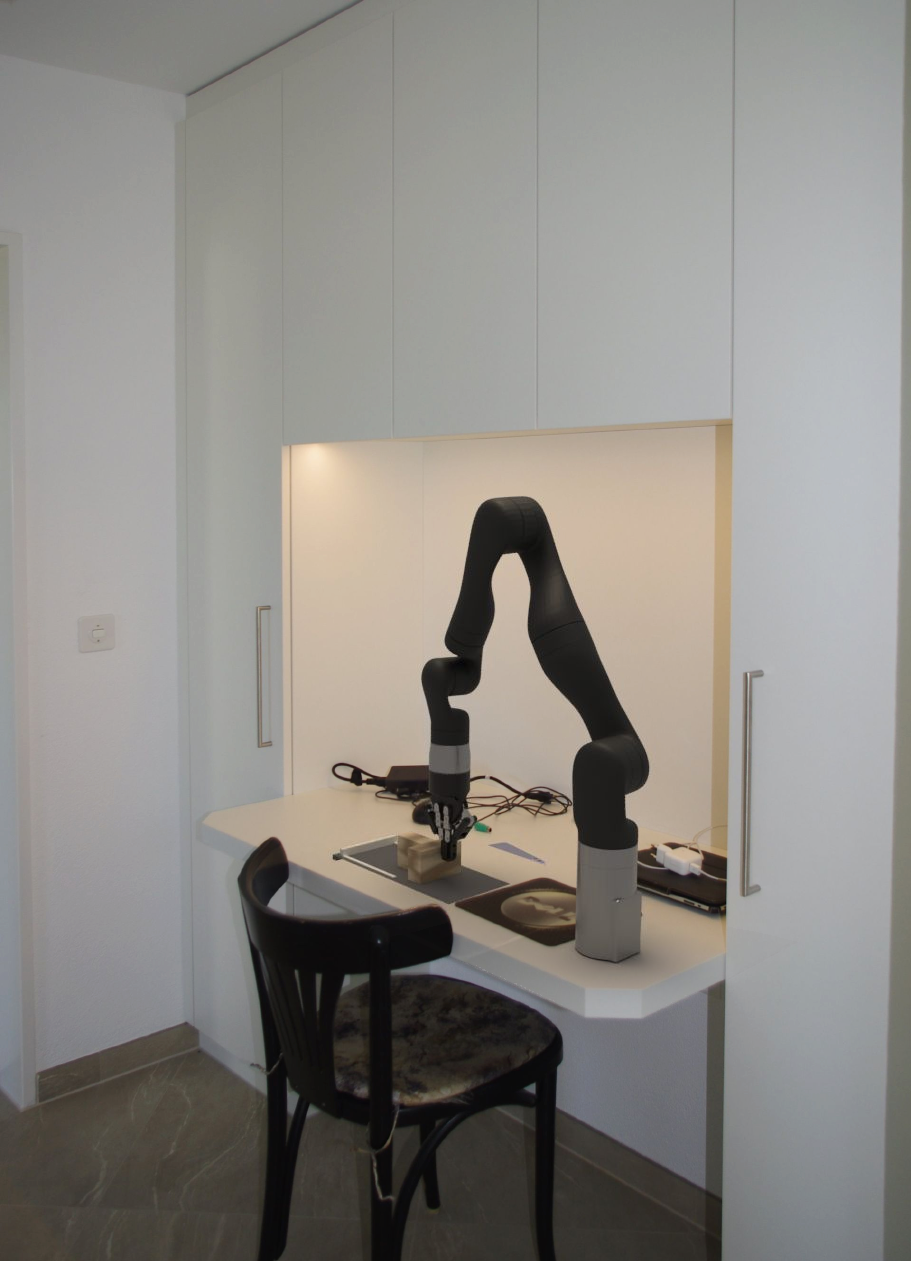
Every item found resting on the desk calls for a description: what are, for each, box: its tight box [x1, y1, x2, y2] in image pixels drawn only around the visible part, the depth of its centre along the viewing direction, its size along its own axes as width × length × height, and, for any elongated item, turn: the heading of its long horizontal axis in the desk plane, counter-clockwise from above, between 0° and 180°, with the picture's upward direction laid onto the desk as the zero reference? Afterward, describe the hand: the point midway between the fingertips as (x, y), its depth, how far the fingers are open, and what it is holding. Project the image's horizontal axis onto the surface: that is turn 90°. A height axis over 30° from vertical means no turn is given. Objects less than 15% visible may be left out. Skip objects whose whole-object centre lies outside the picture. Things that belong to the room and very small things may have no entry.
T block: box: [397, 831, 462, 885], centre depth 186 cm, size 10×10×6 cm
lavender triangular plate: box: [488, 841, 547, 866], centre depth 198 cm, size 8×1×15 cm
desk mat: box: [332, 834, 510, 905], centre depth 188 cm, size 34×15×2 cm, turn 43°
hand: (448, 860), depth 181 cm, fingers closed
